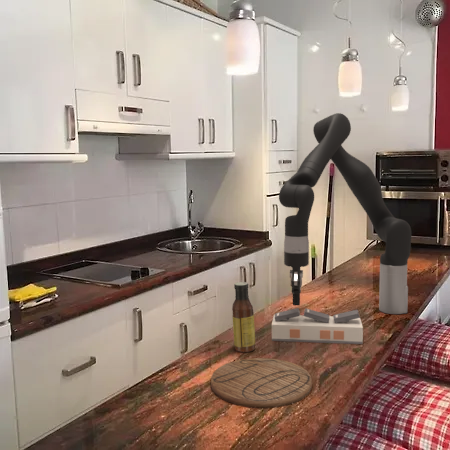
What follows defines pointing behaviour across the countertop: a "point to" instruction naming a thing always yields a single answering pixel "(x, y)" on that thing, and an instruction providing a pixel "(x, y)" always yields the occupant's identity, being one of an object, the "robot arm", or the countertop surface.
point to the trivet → (261, 382)
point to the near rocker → (346, 316)
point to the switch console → (317, 330)
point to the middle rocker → (316, 315)
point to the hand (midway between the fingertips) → (296, 304)
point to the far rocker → (287, 314)
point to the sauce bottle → (243, 319)
